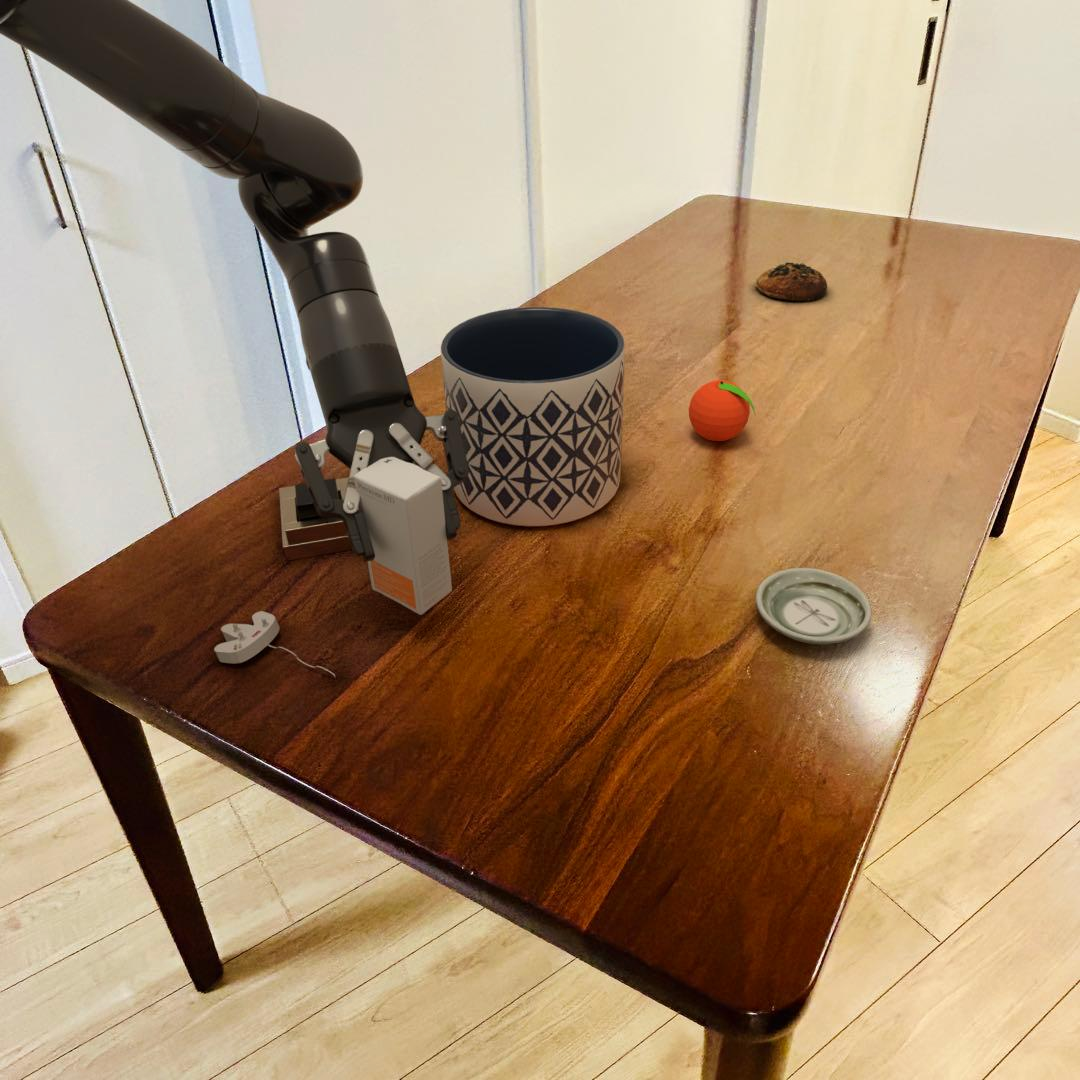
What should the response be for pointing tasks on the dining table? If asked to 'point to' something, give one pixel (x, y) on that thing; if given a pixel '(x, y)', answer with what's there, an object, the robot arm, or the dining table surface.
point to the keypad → (311, 528)
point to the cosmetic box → (405, 532)
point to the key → (306, 503)
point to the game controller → (249, 639)
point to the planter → (536, 412)
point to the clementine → (719, 410)
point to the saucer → (813, 606)
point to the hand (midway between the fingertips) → (411, 548)
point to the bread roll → (792, 282)
